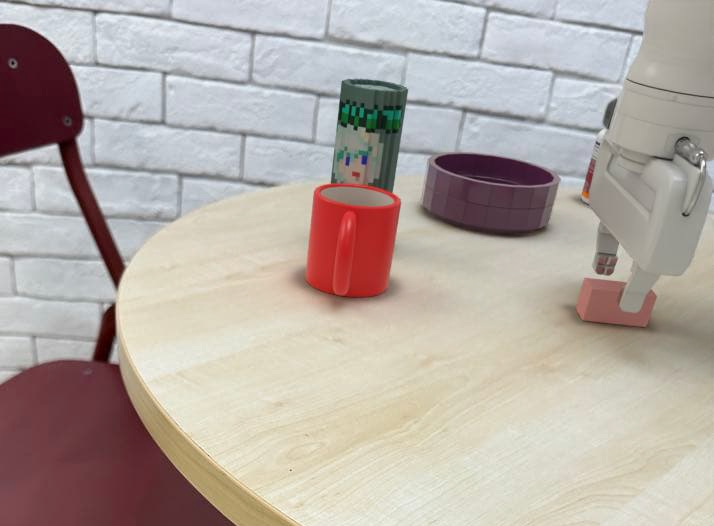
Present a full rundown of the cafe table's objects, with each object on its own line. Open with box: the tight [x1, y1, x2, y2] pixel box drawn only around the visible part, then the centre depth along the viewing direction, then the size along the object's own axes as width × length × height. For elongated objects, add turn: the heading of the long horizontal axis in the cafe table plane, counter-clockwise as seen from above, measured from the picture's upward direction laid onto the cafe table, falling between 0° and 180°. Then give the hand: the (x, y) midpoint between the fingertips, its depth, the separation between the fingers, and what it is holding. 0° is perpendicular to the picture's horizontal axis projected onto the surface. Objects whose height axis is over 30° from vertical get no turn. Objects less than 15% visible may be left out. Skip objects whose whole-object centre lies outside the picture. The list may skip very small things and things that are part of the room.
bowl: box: [420, 151, 562, 235], centre depth 102 cm, size 16×16×6 cm
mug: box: [305, 183, 402, 298], centre depth 76 cm, size 8×12×8 cm, turn 174°
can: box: [330, 78, 409, 194], centre depth 85 cm, size 6×6×15 cm
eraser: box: [575, 277, 658, 328], centre depth 78 cm, size 6×3×3 cm, turn 88°
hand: (613, 290), depth 78 cm, fingers open, 8 cm apart
